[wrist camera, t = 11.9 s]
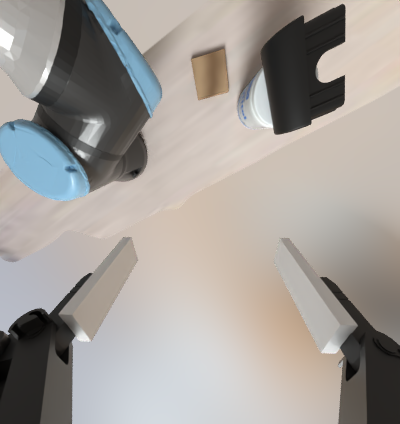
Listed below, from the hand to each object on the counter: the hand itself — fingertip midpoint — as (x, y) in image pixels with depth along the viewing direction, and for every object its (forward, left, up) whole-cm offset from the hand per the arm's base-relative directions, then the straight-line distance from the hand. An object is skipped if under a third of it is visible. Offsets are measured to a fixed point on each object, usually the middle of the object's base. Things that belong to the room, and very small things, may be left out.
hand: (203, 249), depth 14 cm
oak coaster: (+1, +21, -33) cm, 39 cm away
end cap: (+12, +15, -18) cm, 26 cm away
